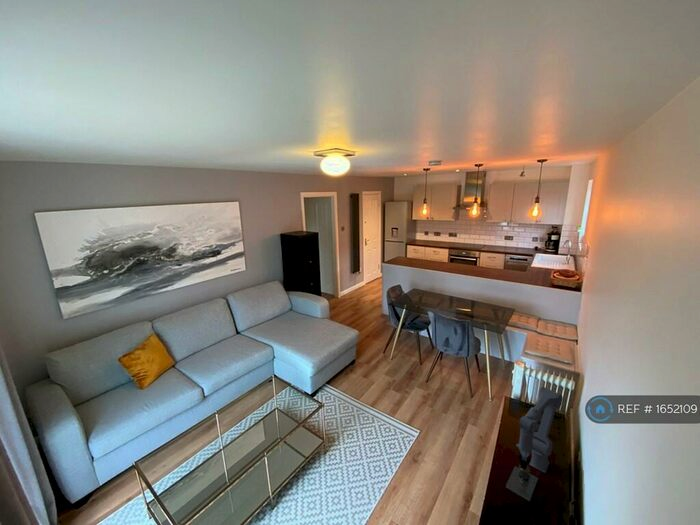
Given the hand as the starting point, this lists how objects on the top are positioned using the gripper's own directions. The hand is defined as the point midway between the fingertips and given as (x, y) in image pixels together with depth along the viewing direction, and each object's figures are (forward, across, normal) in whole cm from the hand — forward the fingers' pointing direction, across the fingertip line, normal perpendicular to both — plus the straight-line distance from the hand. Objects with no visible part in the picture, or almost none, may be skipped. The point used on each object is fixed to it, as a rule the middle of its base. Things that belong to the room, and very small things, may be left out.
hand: (523, 463), depth 152 cm
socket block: (+12, 0, 0) cm, 12 cm away
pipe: (+8, -43, +6) cm, 44 cm away
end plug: (+11, -4, +1) cm, 12 cm away
